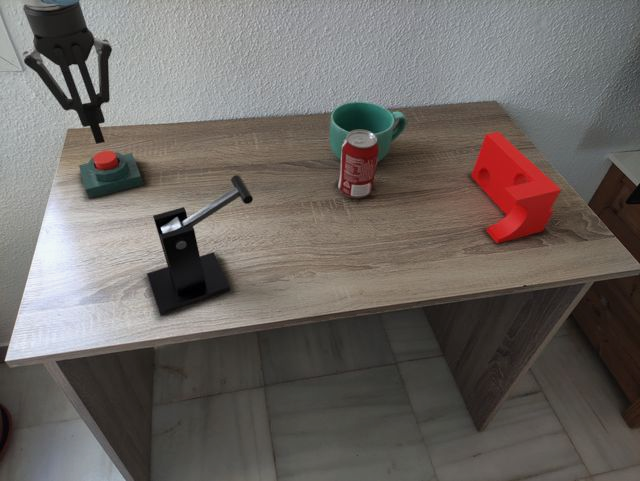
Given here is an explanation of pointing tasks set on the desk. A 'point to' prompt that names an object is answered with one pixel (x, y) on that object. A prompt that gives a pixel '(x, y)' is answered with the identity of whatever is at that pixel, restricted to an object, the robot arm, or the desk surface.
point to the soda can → (358, 163)
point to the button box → (110, 176)
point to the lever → (212, 206)
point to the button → (106, 160)
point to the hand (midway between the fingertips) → (99, 138)
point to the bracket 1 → (184, 268)
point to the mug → (365, 125)
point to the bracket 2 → (514, 189)
